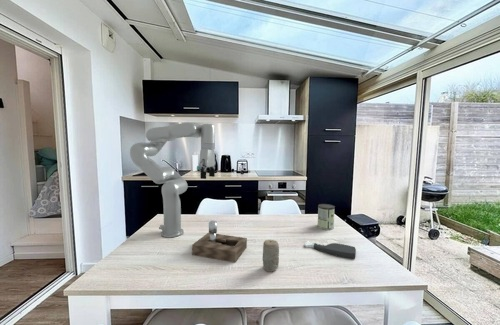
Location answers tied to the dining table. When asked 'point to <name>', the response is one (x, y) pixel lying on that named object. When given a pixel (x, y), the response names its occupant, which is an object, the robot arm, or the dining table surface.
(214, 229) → the keyhole peg
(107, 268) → the dining table surface
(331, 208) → the coffee can
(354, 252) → the spray bottle
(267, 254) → the carving
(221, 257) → the keyhole board
